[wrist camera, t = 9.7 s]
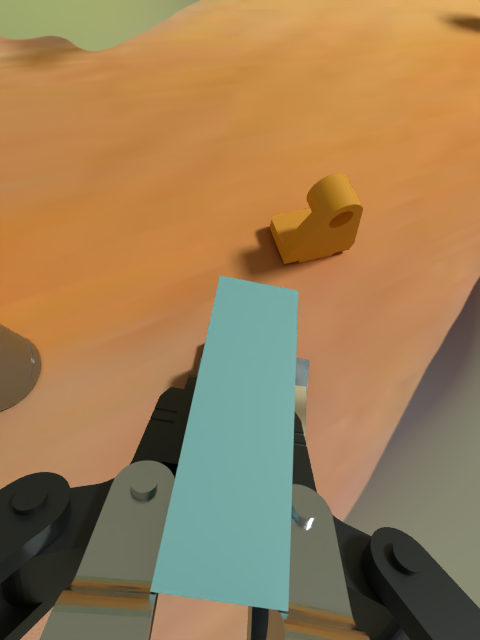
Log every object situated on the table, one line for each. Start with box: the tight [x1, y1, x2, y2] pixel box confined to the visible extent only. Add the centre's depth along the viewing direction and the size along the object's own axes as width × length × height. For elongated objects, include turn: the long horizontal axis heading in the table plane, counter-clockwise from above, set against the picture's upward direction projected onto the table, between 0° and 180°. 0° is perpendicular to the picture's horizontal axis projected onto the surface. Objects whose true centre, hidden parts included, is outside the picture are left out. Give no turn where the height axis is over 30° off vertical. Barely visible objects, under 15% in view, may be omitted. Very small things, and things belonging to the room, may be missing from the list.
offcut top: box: [295, 385, 307, 441], centre depth 33 cm, size 7×4×2 cm, turn 174°
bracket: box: [270, 174, 363, 264], centre depth 42 cm, size 11×7×12 cm, turn 107°
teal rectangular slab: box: [150, 276, 298, 611], centre depth 13 cm, size 6×2×16 cm, turn 171°
